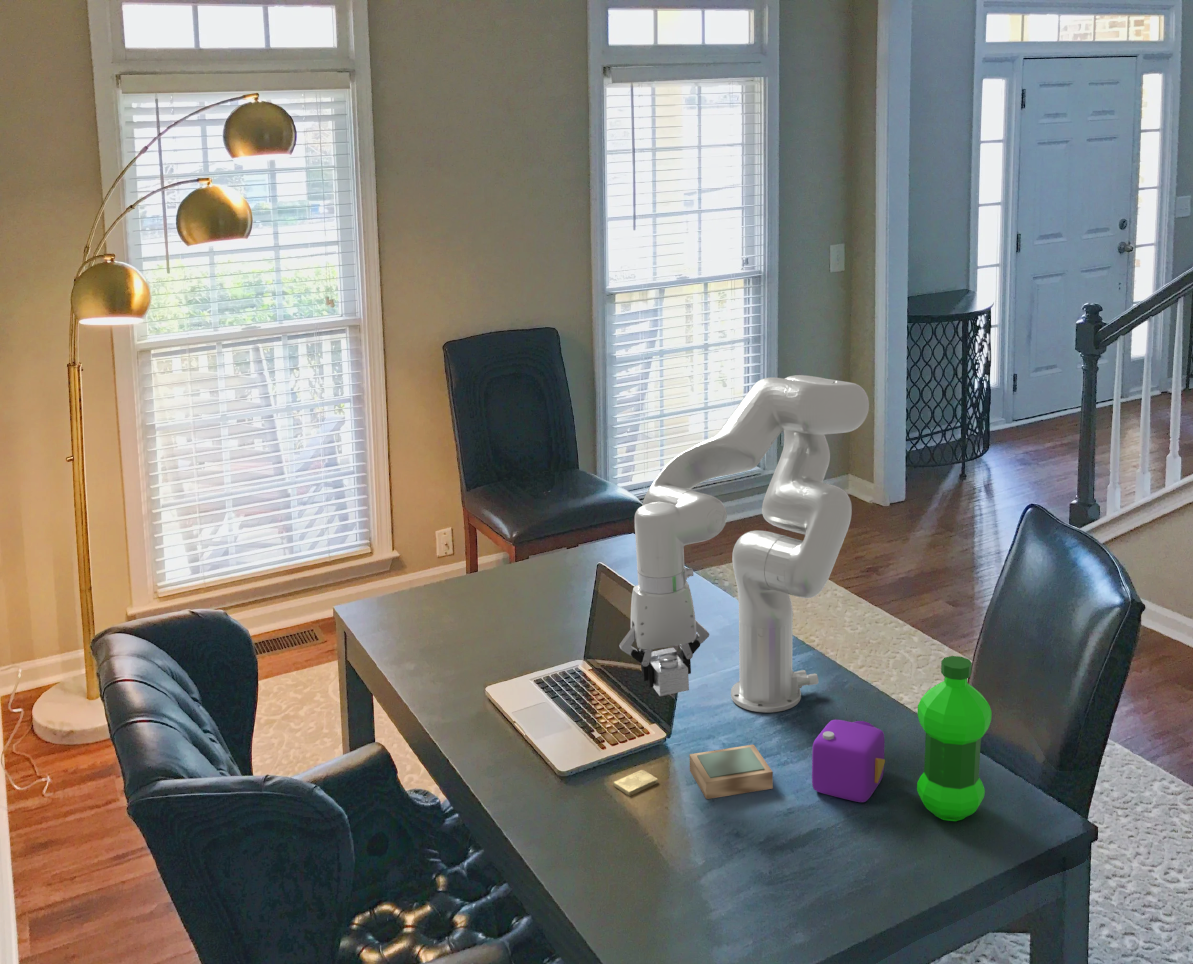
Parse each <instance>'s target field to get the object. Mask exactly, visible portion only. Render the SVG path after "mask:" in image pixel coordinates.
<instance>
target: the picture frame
mask: <svg viewBox="0 0 1193 964" xmlns="http://www.w3.org/2000/svg"><path fill="white" fill-rule="evenodd" d="M689 772H690V773H691V775H692V777H693V779H694V780H695V782H696V783H697V786H698V787H699V789H700V791H701V792H702V794H703V796H704V798H705V799H706V800H710V799H711V800H712V799H716V798H723V797H728V796H735V795H742V794H746V793H754V792H760V791H767V790H770V789H771V790H773V789H774V787H773V783H774V782H773V780H774V779H773V778H774V774H773V773H774V772H773V770H772V768H771V767H770V766H769V764H768V763H767V761H766V760H765V759H764V757H763V756H762V754H761V753H760V752H759V750H758V748H757V747H756V746H755V745H754V744H747V745H741V746H740V745H739V746H736V747H735V746H734V747H729V748H728V747H727V748H723V749H722V748H721V749H717V750H709V751H708V750H707V751H704V752H703V751H702V752H696V753H690V754H689Z"/></svg>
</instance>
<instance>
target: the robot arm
mask: <svg viewBox="0 0 1193 964" xmlns="http://www.w3.org/2000/svg"><path fill="white" fill-rule="evenodd" d="M869 409H870V401H869V397H868V394H867V392H866V391H865V389H864V388H863V387H862V386H861V385H859V384H858V383H855V382H850V381H843V380H836V379H830V378H824V377H820V376H815V375H814V376H812V375H806V374H799V375H798V374H797V375H790V376H787V377H785V378H783V377H773V376H772V377H764V378H761V379H759V380H758V381H756V383H754V384H753V386H752V387H751V388H750V389H749V391H748V392H747V393H746V394H745V395H744V397H743V398H742V400H741V401H740V402H739V404H738V405H737V406H736V408H735V409H734V410H733V412H732V413H731V414H730V416H729V417H728V419H727V420H726V421H725V423H724V424H723V425H722V427H721V428H720V429H719V431H717V433H716V434H715V435H714V436H712V437H710V438H708V439H706V440H704V441H701V442H698V443H697V444H695V445H693V446H692V447H690V448H688V449H685V451H682V452H681V453H680V454H678V455H676V456H675V457H673V458H672V459H671V460H670V461H669V462H668V463H667V464H666V465H665V466H664V467H663V469H662V470H661V471H660V472H659V474H658V475H657V477H656V478H655V479H654V480H653V482H652V483H651V485H650V486H649V488H648V490H646V494H645V495H644V498H643V501H642V506H639V507H638V508H637V509H636V511H635V513H634V532H635V533H634V534H635V537H634V538H635V550H636V551H635V552H636V568H637V569H636V572H637V584H636V585H634V586H633V588H632V594H631V602H630V603H631V604H630V629H629V631H628V632H627V633H626V635H625V636H624V637H623V639H622V641H621V642H620V643H619V648H620V650H621V651H622V652H624V653H626V655H629V656H630V657H632V658H633V659H634V660H636V661H637V662H638V663H640V669H641V672H640V673H641V674H640V675H641V680H642V681H643V682H646V684H647V686H648V688H649V689H650V688H653V686H654V681H653V666H652V664H651V663H650V659H651V655H652V652H653V650H657V649H663V648H664V649H665V648H671V647H675V646H679V649H680V651H679V652H678V654H677V656H678V657H679V658H680V659H681V660H682V662H683V663H684V664H685V665H686V666H687V668H688V675H691V674H692V666H691V663H692V662H691V659H692V658H693V655H694V653H695V652H696V651H697V650H698V649H699V647H700V646H701V644H703V643H704V642H705V641H706V640H707V639H708V638H709V636H710V633H709V631H708V630H707V629H706V628H705V627H704V626H703V625H702V624H701V623H699V621H698V620H696V614H695V606H694V601H693V596H692V592H691V588H690V585H689V582H688V581H687V580H688V579H689V578H690V577H694V570H693V567H689V568H688V567H685V551H684V548H685V546H687V545H691V544H697V543H701V542H702V543H703V542H706V541H709V540H712V539H713V538H715V537H716V536H718V535H719V534H720V533H721V532H722V531H723V529H724V528H725V526H726V524H727V519H728V514H727V513H728V512H727V508H726V506H725V505H724V503H723V501H721V500H720V499H719V498H717V497H716V496H713V495H710V494H707V493H703V492H699V491H695V490H692V489H693V488H695V487H696V486H698V485H700V484H701V483H704V482H706V481H708V480H712V479H715V478H718V477H719V478H721V477H725V476H731V475H735V474H739V473H740V474H741V473H744V472H748V471H750V470H753V469H754V468H756V467H758V465H759V464H760V462H761V461H762V459H763V458H764V457H765V456H766V454H767V452H768V451H769V450H770V448H771V447H772V445H773V444H774V442H775V441H776V440H777V439H778V438H779V436H780V434H781V433H782V432H783V435H784V439H783V440H784V443H783V449H782V451H781V454H780V458H779V460H778V462H777V465H776V467H775V470H774V472H773V474H772V477H771V479H770V481H769V485H768V487H767V489H766V493H765V495H764V497H763V501H762V505H761V513H762V516H763V519H764V520H765V522H768V523H769V524H770V525H772V526H774V527H777V528H779V529H783V530H786V531H789V532H793V533H797V534H801V535H804V538H803V540H801V539H797V538H793V537H790V536H787V535H784V534H780V533H776V532H772V531H767V530H750V531H747V532H745V533H744V534H742V535H741V536H739V538H738V539H737V540H736V542H735V544H734V546H733V549H732V554H731V555H732V557H731V558H732V560H731V561H732V567H733V574H734V577H735V583H736V587H737V588H736V589H737V597H738V599H737V600H738V646H739V647H738V650H739V651H738V654H739V655H738V660H739V661H738V662H739V663H738V664H739V665H738V667H739V672H738V673H739V674H738V675H739V681H737V682H736V683H735V684H733V685H732V687H731V689H730V697H731V700H732V702H733V703H734V704H736V705H737V706H738V707H740V708H742V709H744V710H747V711H750V712H756V713H766V714H767V713H779V712H783V711H787V710H790V709H792V708H793V707H795V706H797V705H798V704H799V703H800V701H801V699H802V691H801V689H802V688H803V686H812V685H813V686H814V685H818V684H819V677H818V674H817V673H810V674H807V672H806V671H807V670H805V669H803V670H797V671H793V634H794V633H793V629H794V628H793V626H794V625H793V620H794V619H793V617H794V614H793V613H794V611H793V609H794V608H793V603H792V599H791V596H792V597H798V598H802V599H810V598H811V599H812V598H814V597H816V596H818V595H819V594H820V593H821V592H822V591H823V589H824V588H825V586H826V584H827V583H828V581H829V578H830V576H831V574H832V571H833V568H834V566H835V563H836V561H837V558H838V556H839V554H840V550H841V549H842V546H843V543H844V542H845V541H844V540H845V538H846V535H847V533H848V530H849V527H850V524H851V520H852V508H853V507H852V501H851V498H850V496H849V495H848V493H847V492H846V491H845V490H844V489H843V488H841V487H839V486H837V485H834V484H831V483H826V482H824V479H825V477H826V474H827V471H828V469H829V468H828V467H829V465H830V460H831V452H830V451H831V450H830V447H829V444H828V441H827V438H826V435H833V434H843V433H844V434H845V433H850V432H853V431H856V430H857V429H859V427H861V426H862V425H863V424H864V422H865V421H866V419H867V417H868V415H869ZM768 523H767V524H768ZM634 642H635V643H636V647H637V648H638V649H637V648H636V647H635V646H632V645H633V644H634Z"/></svg>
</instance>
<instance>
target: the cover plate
mask: <svg viewBox="0 0 1193 964" xmlns="http://www.w3.org/2000/svg"><path fill="white" fill-rule="evenodd" d="M612 783H613V787H614V788H616V789H617V790H618V791H621V792H622V793H623V794H625V795H627V796H628V797H630V796H632V795H634V794H637V793H639V792H641V791H644V790H646V789H647V788H650V787H652V786H655V785H656V784H658V783H659V778H657V777H655V776H654V775H652V774H650V773H649V772H648V771H645V770H644V769H640V770H637V771H636V772H633V773H631V774H629V775H627V776H624V777H622V778H620V779H618V780H614V781H613V782H612Z"/></svg>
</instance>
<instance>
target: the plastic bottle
mask: <svg viewBox="0 0 1193 964" xmlns="http://www.w3.org/2000/svg"><path fill="white" fill-rule="evenodd" d="M940 662H941V665H940V673H941V675H942V676H943V677H944V681H941V682H940V683H938V684H936V685H934V686H933V687H931V688H930V689H928V690H927V691H926V692H925V694H923V696H922V697H921V698H920V701H919V702H918V705H917V717H918V722H919V724H920V726H921V727H922V730H923V731H924V732H925V740H924V741H925V743H924V766H923V767H924V768H923V772H922V774H921V775H920V776H919V778H918V780H917V782H916V791H917V793H918V797H919V798H920V800H921V802H922V803H923V806H924V807H925V809H926V810H928V811H929V812H930V813H932V814H933V815H934V816H935V817H937V818H938V819H941V820H943V821H948V822H949V821H950V822H957V821H962V820H965V818H967V817H969V816H971V815H973V814H975V812H977V810H978V808H980V807H979V806H980V805H981V804H982V801H983V800H984V798H985V793H986V789H985V787H984V784H983V781H982V780H981V778H980V761H981V746H982V745H981V742H982V738H983V737H984V735H985V734H986V733H987V731H988V730H989V728H990V725H991V721H992V715H993V714H992V709H991V706H990V704H989V702H988V701H987V700H986V698H985V697H984V695H983V694H982V693H981V692H980V691H978V690H977V689H976V688H975V687H973V685H971V684H969V683H968V679H969V678H970V677H971V676H972V674H973V673H972V668H973V663H972V661H971V660H970V659H968V658H966V657H964V656H960V655H959V656H957V655H956V656H955V655H949V656H946V657H944V658H942V660H941V661H940Z"/></svg>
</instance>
